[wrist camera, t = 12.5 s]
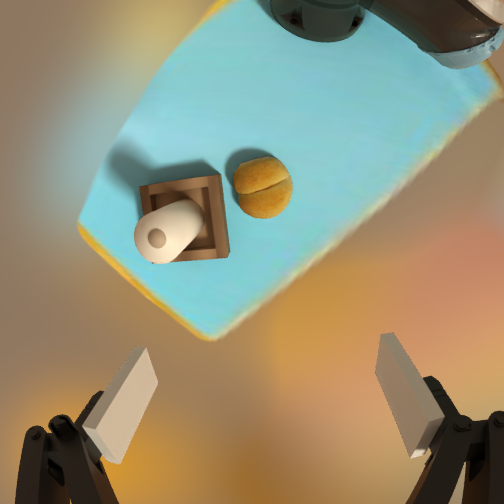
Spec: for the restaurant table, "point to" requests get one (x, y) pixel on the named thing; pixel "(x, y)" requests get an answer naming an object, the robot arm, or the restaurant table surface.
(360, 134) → the restaurant table surface
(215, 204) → the tray
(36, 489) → the robot arm
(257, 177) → the bread roll
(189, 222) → the paper roll
